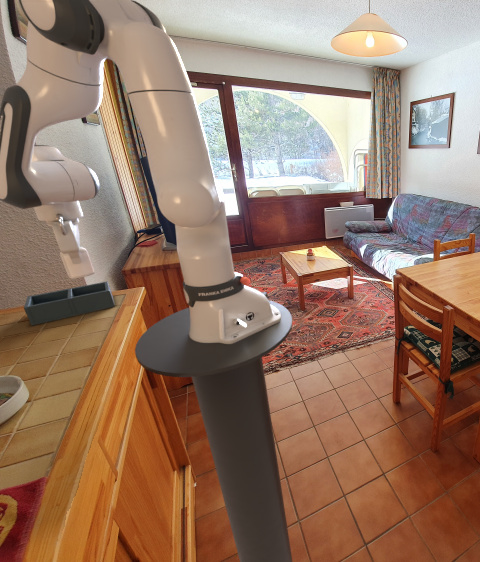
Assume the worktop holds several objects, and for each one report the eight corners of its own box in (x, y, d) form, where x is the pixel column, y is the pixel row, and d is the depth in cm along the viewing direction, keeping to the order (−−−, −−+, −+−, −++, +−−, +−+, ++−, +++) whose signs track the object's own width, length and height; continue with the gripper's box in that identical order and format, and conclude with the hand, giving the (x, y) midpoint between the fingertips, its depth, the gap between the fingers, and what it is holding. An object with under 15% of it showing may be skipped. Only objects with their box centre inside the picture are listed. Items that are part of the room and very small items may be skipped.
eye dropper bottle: (92, 276, 88) (78, 235, 84) (66, 280, 86) (50, 237, 81) (96, 272, 92) (83, 232, 87) (71, 274, 89) (56, 234, 85)
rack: (112, 296, 99) (107, 281, 97) (115, 306, 93) (109, 290, 90) (35, 313, 88) (27, 296, 86) (31, 325, 82) (23, 307, 80)
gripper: (75, 216, 77) (93, 268, 82) (75, 205, 91) (91, 250, 96) (39, 219, 73) (60, 273, 78) (45, 207, 87) (63, 254, 92)
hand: (77, 261), depth 87 cm, fingers closed on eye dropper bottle, 4 cm apart
